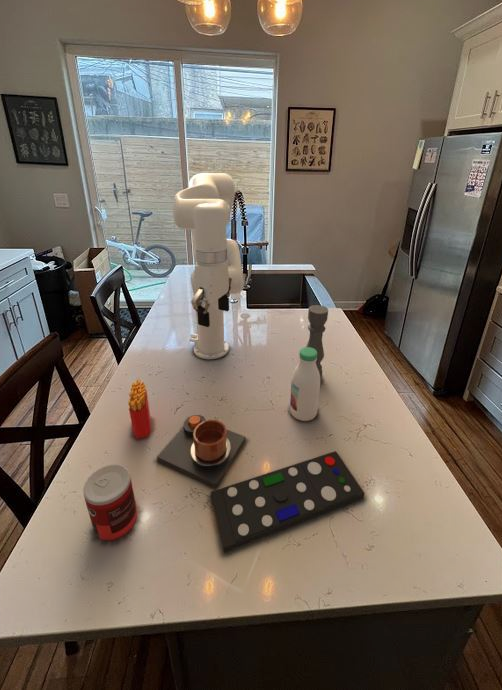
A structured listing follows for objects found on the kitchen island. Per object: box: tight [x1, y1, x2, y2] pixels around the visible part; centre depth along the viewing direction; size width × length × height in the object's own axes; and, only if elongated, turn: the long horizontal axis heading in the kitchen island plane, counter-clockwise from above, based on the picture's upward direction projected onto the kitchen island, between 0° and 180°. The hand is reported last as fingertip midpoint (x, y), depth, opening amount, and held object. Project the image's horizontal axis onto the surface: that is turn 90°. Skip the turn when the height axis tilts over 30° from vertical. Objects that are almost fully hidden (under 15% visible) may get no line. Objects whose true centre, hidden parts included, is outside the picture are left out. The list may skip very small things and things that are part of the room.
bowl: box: [193, 419, 228, 461], centre depth 75 cm, size 7×7×5 cm
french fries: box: [127, 378, 152, 439], centre depth 83 cm, size 9×4×13 cm, turn 18°
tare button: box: [189, 415, 201, 428], centre depth 84 cm, size 3×3×2 cm
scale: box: [156, 414, 247, 489], centre depth 79 cm, size 16×14×3 cm
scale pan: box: [191, 438, 231, 467], centre depth 76 cm, size 9×9×1 cm
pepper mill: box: [306, 304, 329, 384], centre depth 101 cm, size 6×6×25 cm
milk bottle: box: [289, 347, 321, 422], centre depth 89 cm, size 8×8×20 cm
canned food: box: [82, 464, 138, 542], centre depth 62 cm, size 8×8×11 cm
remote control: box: [210, 450, 365, 553], centre depth 69 cm, size 11×30×2 cm, turn 111°
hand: (214, 317), depth 87 cm, fingers open, 9 cm apart
